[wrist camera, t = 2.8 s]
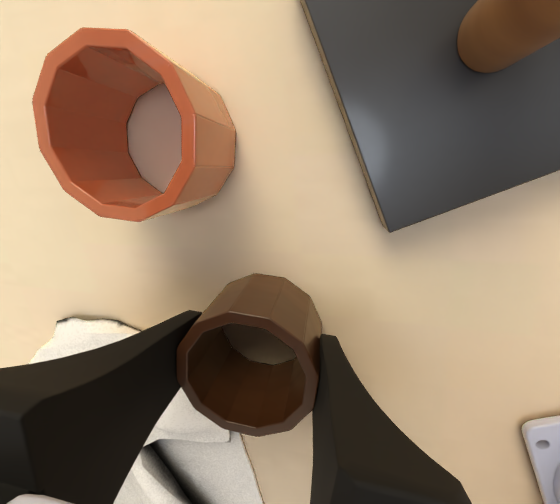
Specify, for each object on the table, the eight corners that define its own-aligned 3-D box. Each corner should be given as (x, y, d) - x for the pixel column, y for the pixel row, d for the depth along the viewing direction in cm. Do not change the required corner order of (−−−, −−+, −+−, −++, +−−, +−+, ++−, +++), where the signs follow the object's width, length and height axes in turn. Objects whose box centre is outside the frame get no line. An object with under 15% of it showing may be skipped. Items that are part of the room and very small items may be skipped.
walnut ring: (336, 356, 13) (340, 420, 10) (241, 381, 15) (215, 446, 11) (293, 258, 12) (280, 293, 9) (195, 295, 14) (150, 338, 10)
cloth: (244, 314, 13) (227, 343, 11) (281, 598, 19) (274, 655, 17) (-80, 312, 17) (-143, 334, 15) (35, 552, 23) (3, 594, 21)
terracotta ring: (256, 175, 11) (226, 179, 8) (156, 223, 13) (94, 244, 9) (197, 44, 10) (134, -16, 7) (95, 111, 12) (1, 87, 8)
